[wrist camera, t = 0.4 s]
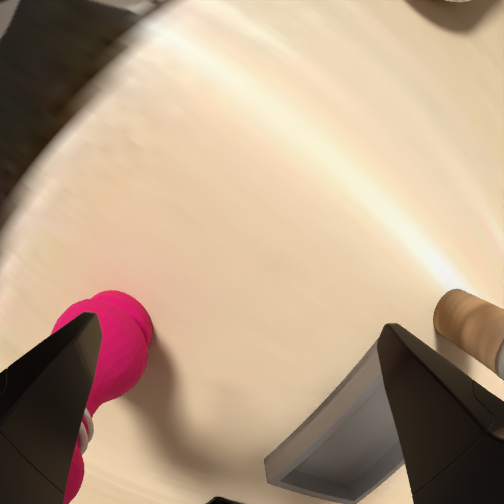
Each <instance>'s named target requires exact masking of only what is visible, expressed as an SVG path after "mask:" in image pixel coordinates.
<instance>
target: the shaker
mask: <svg viewBox="0 0 504 504" xmlns="http://www.w3.org/2000/svg"><path fill="white" fill-rule="evenodd" d="M433 322H434V327H435V329H436V331H437V332H438V333H440V334H441V335H443V336H444V337H445V338H447V339H448V340H450V341H451V342H453V343H454V344H455V345H457V346H458V347H460V348H461V349H462V350H464V351H465V352H467V353H468V354H469V355H471V356H472V357H474V358H475V359H476V360H478V361H479V362H480V363H482V364H483V365H485V366H486V367H487V368H489V369H490V370H491V371H493V372H494V373H495V374H497V376H498V377H500V378H501V379H502V380H504V309H502V308H499V307H497V306H495V305H493V304H491V303H489V302H487V301H485V300H482V299H480V298H478V297H476V296H474V295H472V294H469V293H467V292H465V291H463V290H460V289H453V290H450V291H449V292H447V293H446V294H445V295H444V296H443V297H442V298H441V299H440V301H439V302H438V304H437V306H436V309H435V312H434V318H433Z"/></svg>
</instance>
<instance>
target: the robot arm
mask: <svg viewBox="0 0 504 504" xmlns="http://www.w3.org/2000/svg"><path fill="white" fill-rule="evenodd" d="M101 343H102V330H101V326H100V322H99V318H98V315H97V314H96V313H95V312H87V311H85V312H82V313H81V314H80V315H78V316H77V317H75V318H74V319H73V320H71V321H70V322H68V323H67V324H66V325H64V326H63V327H61V328H60V329H59V330H57V331H56V332H54V333H53V334H52V335H50V336H49V337H48V338H46V339H45V340H43V341H42V342H41V343H39V344H38V345H37V346H35V347H34V348H33V349H31V350H30V351H29V352H27V353H26V354H25V355H23V356H22V357H21V358H19V359H18V360H17V361H15V362H14V363H13V364H11V365H10V366H9V367H8V369H5V370H3V371H2V372H1V373H0V504H63V502H64V497H65V491H66V486H67V481H68V476H69V471H70V467H71V463H72V458H73V454H74V450H75V446H76V442H77V438H78V434H79V430H80V426H81V423H82V419H83V415H84V412H85V408H86V405H87V401H88V398H89V395H90V391H91V388H92V385H93V381H94V377H95V372H96V367H97V362H98V357H99V352H100V347H101ZM377 352H378V357H379V362H380V367H381V373H382V378H383V383H384V388H385V391H386V395H387V398H388V402H389V405H390V409H391V412H392V416H393V419H394V423H395V426H396V430H397V434H398V438H399V441H400V445H401V449H402V453H403V457H404V461H405V466H406V470H407V474H408V478H409V483H410V487H411V492H412V494H413V495H412V497H413V502H414V504H504V401H502V400H501V399H499V398H498V397H496V396H495V395H493V394H492V393H490V392H489V391H488V390H486V389H485V388H484V387H482V386H481V385H480V384H478V383H477V382H476V381H474V380H472V379H471V378H470V377H469V376H468V375H466V374H465V373H464V372H462V371H461V370H460V369H459V368H457V367H456V366H455V365H453V364H452V363H451V362H449V361H448V360H447V359H445V358H444V357H442V356H441V355H440V354H438V353H437V352H436V351H434V350H433V349H432V348H430V347H429V346H428V345H426V344H425V343H424V342H422V341H421V340H420V339H418V338H417V337H415V336H414V335H413V334H411V333H410V332H409V331H407V330H406V329H405V328H403V327H402V326H400V325H399V324H397V323H387V324H385V325H384V327H383V330H382V332H381V334H380V337H379V339H378V341H377ZM206 504H238V503H235V502H232V501H229V500H226V499H223V498H221V497H214V498H213V499H212V500H210V501H209V502H208V503H206Z"/></svg>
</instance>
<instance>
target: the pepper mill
mask: <svg viewBox="0 0 504 504" xmlns="http://www.w3.org/2000/svg"><path fill="white" fill-rule="evenodd" d="M85 311H87V312H95V313H96V314H97V315H98V318H99V322H100V326H101V330H102V343H101V347H100V352H99V357H98V362H97V367H96V372H95V377H94V381H93V385H92V388H91V391H90V395H89V398H88V401H87V405H86V408H85V412H84V415H83V419H82V423H81V426H80V430H79V434H78V438H77V442H76V446H75V450H74V454H73V458H72V463H71V467H70V471H69V476H68V481H67V486H66V491H65V497H64V502H63V504H69V503H70V502H71V500H72V499H73V498H74V497H75V496H76V494H77V493H78V491H79V489H80V487H81V484H82V481H83V477H84V462H83V458H82V454H83V453H84V452H85V451H86V449H87V446H88V443H89V442H90V440H91V439H92V436H93V431H94V428H93V422H92V417H93V414H94V413H95V411H96V410H97V409H98V407H99V406H100V405H101V404H102V403H104V402H107V401H110V400H112V399H115V398H117V397H120V396H122V395H123V394H124V393H126V392H127V391H129V390H130V389H131V388H132V387H134V385H135V384H136V383H137V382H138V380H139V379H140V377H141V376H142V374H143V372H144V370H145V368H146V364H147V357H148V352H147V349H148V347H149V345H150V342H151V339H152V325H151V321H150V318H149V316H148V314H147V312H146V310H145V309H144V307H143V306H142V305H141V304H140V303H139V302H138V301H137V300H136V299H134V298H133V297H131V296H130V295H128V294H126V293H123V292H120V291H112V290H110V291H103V292H101V293H98V294H97V295H95V296H94V297H92V298H91V299H86V300H83V301H80V302H77V303H75V304H73V305H71V306H70V307H69V308H68V309H67V310H66V311H65V312H64V313H63V314H62V315H61V316H60V318H59V319H58V320H57V322H56V324H55V326H54V328H53V330H52V333H51V335H52V334H53V333H54V332H56V331H57V330H59V329H60V328H61V327H63V326H64V325H66V324H67V323H68V322H70V321H71V320H73V319H74V318H75V317H77V316H78V315H80V314H81V313H82V312H85Z"/></svg>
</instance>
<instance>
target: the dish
mask: <svg viewBox="0 0 504 504" xmlns="http://www.w3.org/2000/svg"><path fill="white" fill-rule="evenodd" d="M378 339H379V338H378ZM378 339H377V341H378ZM377 341H376V342H375V343H374V345H373V346H372V347H371V348H370V349H369V351H368V352H367V353H366V354H365V356H364V357H363V358H362V359H361V360H360V362H359V363H358V364H357V365H356V366H355V367H354V369H353V370H352V371H351V372H350V373H349V374H348V376H347V377H346V378H345V379H344V380H343V381H342V382H341V383H340V385H339V386H338V387H337V388H336V389H335V390H334V391H333V392H332V393H331V394H330V395H329V397H328V398H327V399H326V400H325V401H324V402H323V403H322V404H321V405H320V406H319V407H318V408H317V409H316V410H315V411H314V412H313V413H312V414H311V415H310V416H309V417H308V418H307V419H306V420H305V421H304V422H303V423H302V424H301V425H300V426H299V427H298V428H297V429H296V430H295V431H294V432H293V433H292V434H291V435H290V436H289V437H288V438H287V439H286V440H285V441H284V442H283V443H282V444H281V445H279V446H278V447H277V448H276V449H275V450H274V451H273V452H272V453H271V454H270V455H268V456H267V457H266V458H265V459H264V463H265V470H266V476H267V483H269V484H272V485H275V486H278V487H281V488H284V489H287V490H291V491H294V492H298V493H301V494H305V495H309V496H312V497H316V498H320V499H324V500H329V501H333V502H337V503H342V504H356V503H358V502H359V501H360V500H362V499H363V498H364V497H366V496H367V495H368V494H369V493H371V492H372V491H373V490H374V489H376V488H377V487H378V486H379V485H381V484H382V483H383V482H384V481H385V480H386V479H388V478H389V477H390V476H391V475H392V474H393V473H395V472H396V471H397V470H398V469H399V468H400V467H401V466H402V465H403V464H404V463H405V461H404V457H403V453H402V449H401V445H400V441H399V438H398V434H397V430H396V426H395V423H394V419H393V416H392V412H391V409H390V405H389V402H388V398H387V395H386V391H385V388H384V383H383V378H382V373H381V367H380V362H379V357H378V352H377Z"/></svg>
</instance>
